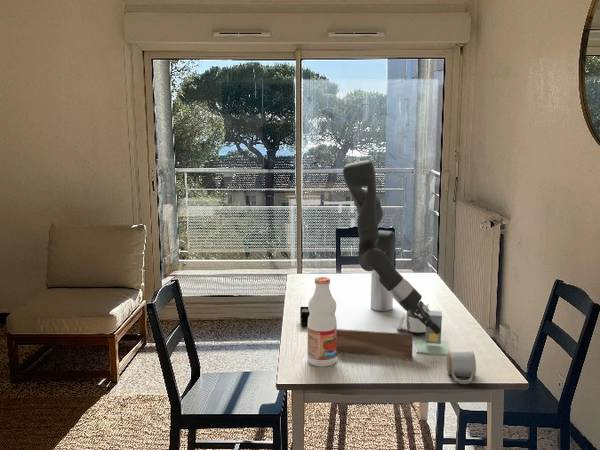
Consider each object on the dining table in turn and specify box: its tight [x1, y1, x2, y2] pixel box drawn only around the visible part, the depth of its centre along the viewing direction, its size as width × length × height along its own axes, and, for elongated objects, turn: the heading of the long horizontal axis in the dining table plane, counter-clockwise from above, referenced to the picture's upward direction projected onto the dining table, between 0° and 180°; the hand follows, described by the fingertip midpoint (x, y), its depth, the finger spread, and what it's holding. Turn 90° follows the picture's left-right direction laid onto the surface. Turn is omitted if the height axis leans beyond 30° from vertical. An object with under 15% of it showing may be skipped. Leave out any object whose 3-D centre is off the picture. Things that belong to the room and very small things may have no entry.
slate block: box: [424, 310, 443, 344], centre depth 200 cm, size 5×5×10 cm
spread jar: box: [396, 299, 430, 336], centre depth 216 cm, size 12×11×12 cm
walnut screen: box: [336, 328, 414, 361], centre depth 195 cm, size 5×26×8 cm, turn 79°
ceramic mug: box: [446, 350, 477, 385], centre depth 178 cm, size 11×8×8 cm
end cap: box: [299, 306, 310, 328], centre depth 225 cm, size 10×7×7 cm
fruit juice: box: [307, 276, 338, 367], centre depth 188 cm, size 9×9×28 cm
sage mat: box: [416, 338, 451, 356], centre depth 202 cm, size 12×11×1 cm
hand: (438, 329), depth 200 cm, fingers closed on slate block, 5 cm apart
